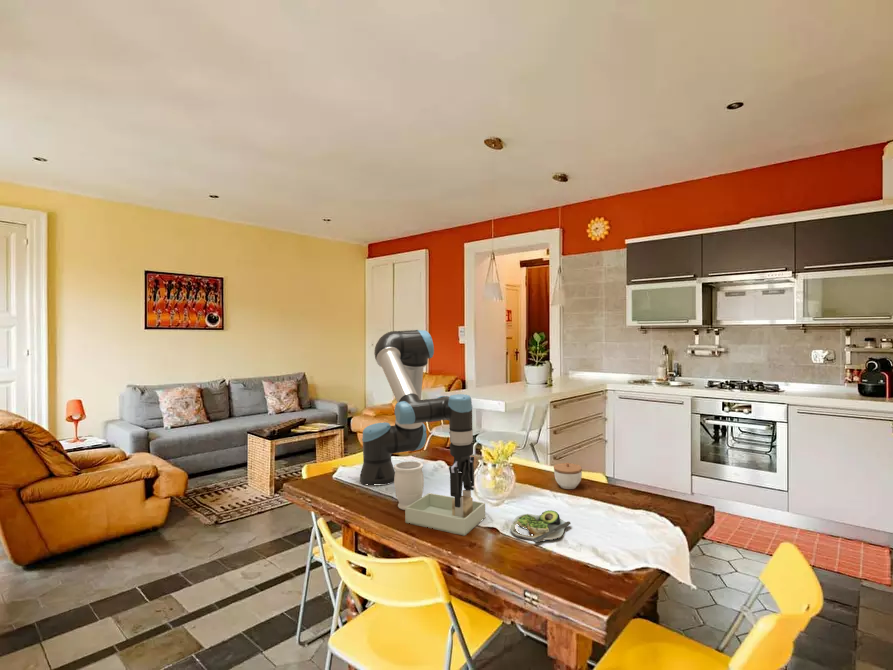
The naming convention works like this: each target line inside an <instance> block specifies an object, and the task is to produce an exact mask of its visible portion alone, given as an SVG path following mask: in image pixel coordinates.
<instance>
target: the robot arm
mask: <svg viewBox="0 0 893 670" xmlns="http://www.w3.org/2000/svg"><path fill="white" fill-rule="evenodd" d="M434 346H435V345H434V342H433V338H432V336H431V334H430V333H429V332H428V331H427V330H426V329H425V330H423V329H421V330H420V329H412V330H391V331H387V332H386V333H384V334H383V335H382V336H381V337H380V338H379V339H378V340H377V341H376V344H375V346H374V347H375V348H374V358H375V362H376V364H377V365H378V366H379V367H381V368H382V371H383V372H384V375H385V377H386V379H387V382H388V384H389V386H390V389H391V391H392V393H393V396H394V399H395V402H396V403H395V405H394V416H395V421H394V425H391V424H390V423H389V422H384V421H383V422H376V423H373V424H369V425H367V426H366V427H364V429H363V430H362V437H361V439H362V440H361V441H362V456H363V460H362V461H363V463H362V466H361V470H360V475H359V483H360V482H361V483H360V484H362V483H363V484H362V485H364V484H368V485H374V484H386V485H389V484H388V483H390V484H392V483H394V476H395V470H394V465H393V461H392V455H393V454H400V453H406V452H414V451H418V450H421V449H423V448H424V446H425V444H426V443H427V442H426V441H427V437H428V435H427V427H426V425H425V423H427V422H429V423H430V422H438V421H439V422H440V421H449V422H448V423H449V428H448V429H449V432H448V433H449V442H450V444H449V455H451V456H452V457H453V464H452V465H449V466H448V470H449V471H448V472H449V481H450V482H449V483H450V484H449V486H450V488H449V490H450V493H449V494H450V497H454V498H455V516H458V517H464V514H463V496H466V497H472V491H474V490H475V468H474V466H475V465H474V464H475V457H474V456H472V455H473V454H474V443H473V442H474V436H473V435H474V434H473V431H474V429H473V404H472V397H471V396H470V395H468V394H463V393H460V394H459V393H458V394H451V395H450V396H449V395H446V396H445V395H440V396H438V397H436V398H428V399H422V389H423V379H424V378H423V377H424V367H426V366H428V360H429V359H433V358H434V354H435V347H434ZM368 485H367V486H368Z"/></svg>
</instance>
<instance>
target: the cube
mask: <svg viewBox="0 0 893 670" xmlns="http://www.w3.org/2000/svg"><path fill="white" fill-rule="evenodd" d="M462 496H463V495H462ZM473 499H474V497H472V496H471V497H466V496H463V514H464V517H463V518H465V517H467V516H468V515H469V514H470V513H472V512H473V501H474V500H473ZM452 515H453V516H455V497H454V499H453V500H452Z"/></svg>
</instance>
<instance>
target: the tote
mask: <svg viewBox="0 0 893 670" xmlns="http://www.w3.org/2000/svg"><path fill="white" fill-rule="evenodd" d="M454 498H455V497H452V496H448V495H443V494H437V493H430V492H428V493H426V494H425V495H422V498H420V499H418V500H417V501H415V502H414V503H412V504H411V505H409V506H407V507H406V508H405V510H404V512H405V513H404V514H405V515H404V516H405V518H404V519H405V520H404V522H405V523H406V524H409V523H410V524H409V525H414V526H419V527H422V528H427V527H428V529H432V528H433V529H432V530H438V531H441V532H447V533H451V534H454V535H460V536H462V537H463V536H467V534H469V533H470V532H471V531H472V530H474V528H476V526H477V525H479V524H480V523H481V522H482V521H483V520H484V519H483V518H484V517H485V518H486V502H481V501H475V500H473V512H472V513H470V514H469V515H468V516H467V517H465V518H463V517H458V516H453V515H452V500H453V499H454ZM482 519H483V520H482ZM481 520H482V521H481ZM480 521H481V522H480ZM479 522H480V523H479Z"/></svg>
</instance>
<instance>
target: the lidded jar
mask: <svg viewBox="0 0 893 670" xmlns="http://www.w3.org/2000/svg"><path fill="white" fill-rule="evenodd" d="M582 468H583V467H582V466H581V465H579V464H576V463H572V462H571V463H569V462H563V463H561V462H560V463H556V464H555V465H554V466H553V470H554V471H553V473H554V479H555V482H556V483H557V484H558V485H559V487H560V488H561V489H564V490H574V489H576V488H577V487H578V486H579V485H580V483H581V481H582V472H583V469H582Z"/></svg>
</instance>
